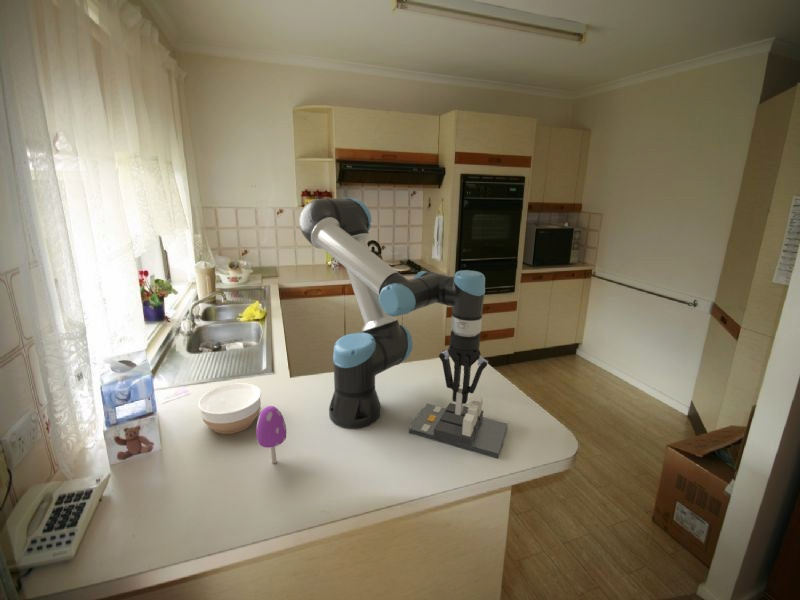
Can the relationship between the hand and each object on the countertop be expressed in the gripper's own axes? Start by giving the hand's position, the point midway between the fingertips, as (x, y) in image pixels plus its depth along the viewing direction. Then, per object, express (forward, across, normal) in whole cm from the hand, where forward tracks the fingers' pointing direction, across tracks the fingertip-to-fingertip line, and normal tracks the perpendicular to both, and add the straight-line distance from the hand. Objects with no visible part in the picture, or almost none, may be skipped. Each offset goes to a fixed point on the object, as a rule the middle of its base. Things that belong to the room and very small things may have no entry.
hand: (459, 412), depth 106 cm
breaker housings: (+4, 0, 0) cm, 4 cm away
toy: (+6, -37, -31) cm, 49 cm away
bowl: (+7, -58, -23) cm, 63 cm away
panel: (+6, 0, 0) cm, 6 cm away
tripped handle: (+2, +4, 0) cm, 4 cm away
